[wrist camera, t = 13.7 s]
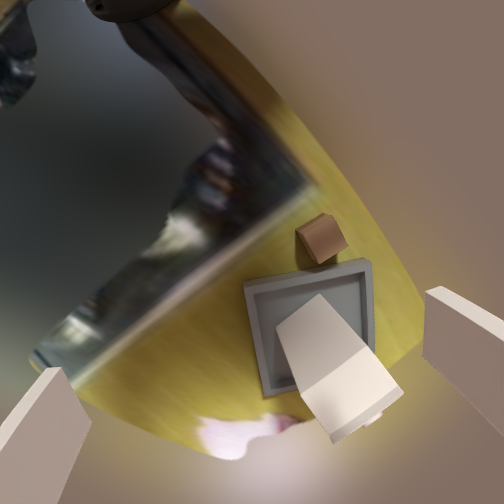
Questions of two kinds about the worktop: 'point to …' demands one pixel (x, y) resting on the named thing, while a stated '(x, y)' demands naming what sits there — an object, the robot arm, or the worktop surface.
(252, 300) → the tray
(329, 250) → the walnut block
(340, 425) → the milk carton
